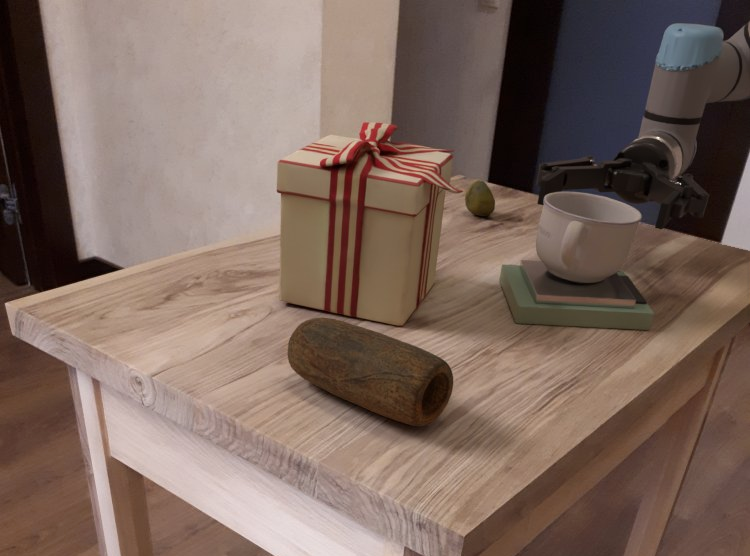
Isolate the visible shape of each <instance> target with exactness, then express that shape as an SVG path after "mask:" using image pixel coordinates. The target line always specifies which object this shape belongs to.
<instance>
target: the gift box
mask: <svg viewBox="0 0 750 556" xmlns="http://www.w3.org/2000/svg"><path fill="white" fill-rule="evenodd" d="M398 129H399V126H398V125H396V124H392V123H391V124H390V123H384V122H366V121H365V122H363V123H362V125H361V127H360V131H359V133H358V135H359V138H356V137H349V136H342V135H337V134H327V135H325V136H324V137H321V138H320V139H318V140H316V141H314V142H312V143H309V144H308V145H306V146H304V147H302V148H300V149H298V150H296V151H294V152H292V153H291V154H289V155H287V156H285V157H282V158H281V159H279V160H278V161H277V162H276V163H277V164H276V193H277V194H280V223H279V225H280V233H279V235H280V236H279V237H280V238H279V241H280V243H279V244H280V245H279V246H280V247H279V301H281V302H283V303H287V304H292V305H297V306H301V307H306V308H311V309H315V310H320V311H325V312H329V313H334V314H338V315H339V314H340V315H342V316H343V315H344V316H349V317H354V318H359V319H363V320H368V321H373V322H379V323H384V324H387V325H388V324H389V325H393V326H398V327H402V326H404V325H405V324H406V323H407V321H408V320H409V319H410V317H411V316H412V314H413V313H414V312H415V311H416V309H417V308H419V306H420V303H421V302H422V301H423V300H424V299H425V297H426V296H427V295H428V293H429V292H430V290H432V288H433V286H434V285H435V279H436V272H437V264H438V256H439V247H440V240H441V233H442V225H443V217H444V216H443V215H444V208H445V207H444V206H445V199H446V192H449V193H452V194H455V195H456V194H460V193H461V194H462V193H463V192H464V190H463V189H458V188H455V187H454V186H452V185H451V181H452V180H451V179H452V172H453V171H452V170H453V164H454V154H452V152H455V149H441V148H435V147H434V148H433V147H429V146H424V145H420V144H415V143H409V142H393V141H390V140H389V139H390V138H391V137H392V136H393V134H394V133H395V131H397V130H398Z"/></svg>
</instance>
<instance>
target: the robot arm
mask: <svg viewBox="0 0 750 556" xmlns="http://www.w3.org/2000/svg"><path fill="white" fill-rule="evenodd" d="M748 99H750V20H749V21H747V22H746V23H745V24H744V25H743V26H742V27H741V28H740V29H739V30H737V31H736V32H735V33H734V34H733V35H732V36H730V38H728V39H726V40H724V31H723V29H722V28H721V27H718V26H713V25H708V24H707V25H706V24H699V23H683V22H681V23H679V22H677V23H676V22H675V23H672V24H670V25H668V27H667V28H666V29H665V30H664V33H663V36H662V40H661V43H660V46H659V49H658V53H657V54H656V57H655V63H654V69H653V72H652V77H651V81H650V86H649V90H648V95H647V99H646V102H645V103H646V104H645V107H644V113H643V116H642V120H641V125H640V129H639V133H638V136H637V138H636V139H634V140H632V141H631V142H630V143H629V144H627V145H626V146H624V147H623V148H622V149H621V150H619V151H618V153H617V154H616V155H615V157H614V158H613V159H612V160H601V161H599V162H598V163H596V164H595V161H596V160H595V157H594V156H592V155H587V156H583V157H581V158H574V159H567V160H558V161H557V160H556V161H550V162H541V163H539V166H538V172H537V175H536V176H537V177H536V183H535V185H536V186H537V187H540V188H539V192H538V199H537V205H541V206H543V205H544V202H543V200H544V197H545V196H546V195H547V194H550V193H554V192H563V191H569V190H571V191H573V190H592V189H593V190H594V191H597V192H599V193H614V194H616V195H617V197H618V198H620V199H621V200H623V201H624V202H627V203H630V204H634V205H639V204H645V203H648V202H649V203H650V202H651V203H652V202H653V203H654V202H655V203H657V204H659V205H660V207H659V210H658V215H657V218H656V221H655V226H654V229H657V230H663V229H664V228H665V227H666V225H667V224H668V223H670V221H671V220H672V219H673V218H676V219H680V218H682V217H684V216H687V213H689V214H690V215H691V216H692V217H694V218H696V219H702V218H704V216H705V211H706V208H707V204H708V201H709V197H710V194H709V193H708V192H707V191H706V190H704V188H703V187H701V185H699V184H698V183H697V182H696V181H695V180H694V175H692V174H691V173H685V172H686V171H688V168H690V167H691V165H692V163H693V160H694V158H695V155H696V152H697V147H698V146H697V144H698V143H697V136H698V131H699V128H700V125H701V121H702V117H703V116H704V115H703V114H704V111H705V107H706V104H713V103H721V102H723V103H724V102H741V101H742V102H743V101H745V100H748Z"/></svg>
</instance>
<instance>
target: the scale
mask: <svg viewBox="0 0 750 556" xmlns="http://www.w3.org/2000/svg"><path fill="white" fill-rule="evenodd" d="M617 274H618V275H619V277H620V278H621V280H622V281H623V282H624V284H625V285H626V287H627V288H628V289H629V291H630V292H631V294H632V295H633V296H634V298H635V299H636V303H635V307H634V309H633V308H614V307H595V306H577V305H558V304H540V303H535V301H534V299H533V297H532V294H531V292H530V290H529V288H528V285H527V283H526V281H525V279H524V277H523V274H522V272H521V270H520V264H519V265H517V264H501V268H500V274H499V283H500V285H501V288H502V291H503V293H504V296H505V299H506V301H507V304H508V307H509V309H510V312H511V314H512V317H513V320H514V322H515V324H522V325H523V324H525V325H543V326H561V327H563V326H564V327H578V328H579V327H580V328H582V327H583V328H600V329H619V330H620V329H621V330H636V331H650V330H651V327H652V324H653V320H654V317H655V312H654V310H653V309H652V308H651V306H650V305H649V304H648V301H647V300H646V298H645V297H644V295H642V293H641V291H640V289H638V287H637V286H636V285H635V284H634V282H633V281H632V280H631V278H630V276H629V275H627V274H626V273H625V272H624V270H619V271H618V272H617Z"/></svg>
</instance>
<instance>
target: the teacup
mask: <svg viewBox="0 0 750 556" xmlns="http://www.w3.org/2000/svg"><path fill="white" fill-rule="evenodd" d="M543 202H544V205H542V208H541V209H542V210H541V215H540V218H539V223H538V228H537V234H536V240H535V250H536V254H537V256H538V258H539V261H542V262H543V263H544V264H545V267H546V268H547V270H548V271H549V272H550V273H552V274H553V275H555V276H558V277H560V278H563V279H566V280H569V281H574V282H579V283H596V282H599V281H602V280H604V279H605V278H606V277H609V276H611V275H613V274H615V273H617V272H618V271H621V269H622V268H623V266H624V265H625V263H626V261H627V259H628V256H629V254H630V251H631V248H632V246H633V242H634V240H635V237H636V233H637V230H638V227H639V224H640V222H641V221H642V218H643V215H642V213H641V212H640V210H638V209H637V208H635V207H634V206H631V205H629V204H627V203H625V202H623V201H619V200H616V199H614V198H610V197H608V196H604V195H600V194H593V193H588V192H578V191H562V192H554V193H550V194H547V195H546V196H545V197H544V200H543Z"/></svg>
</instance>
